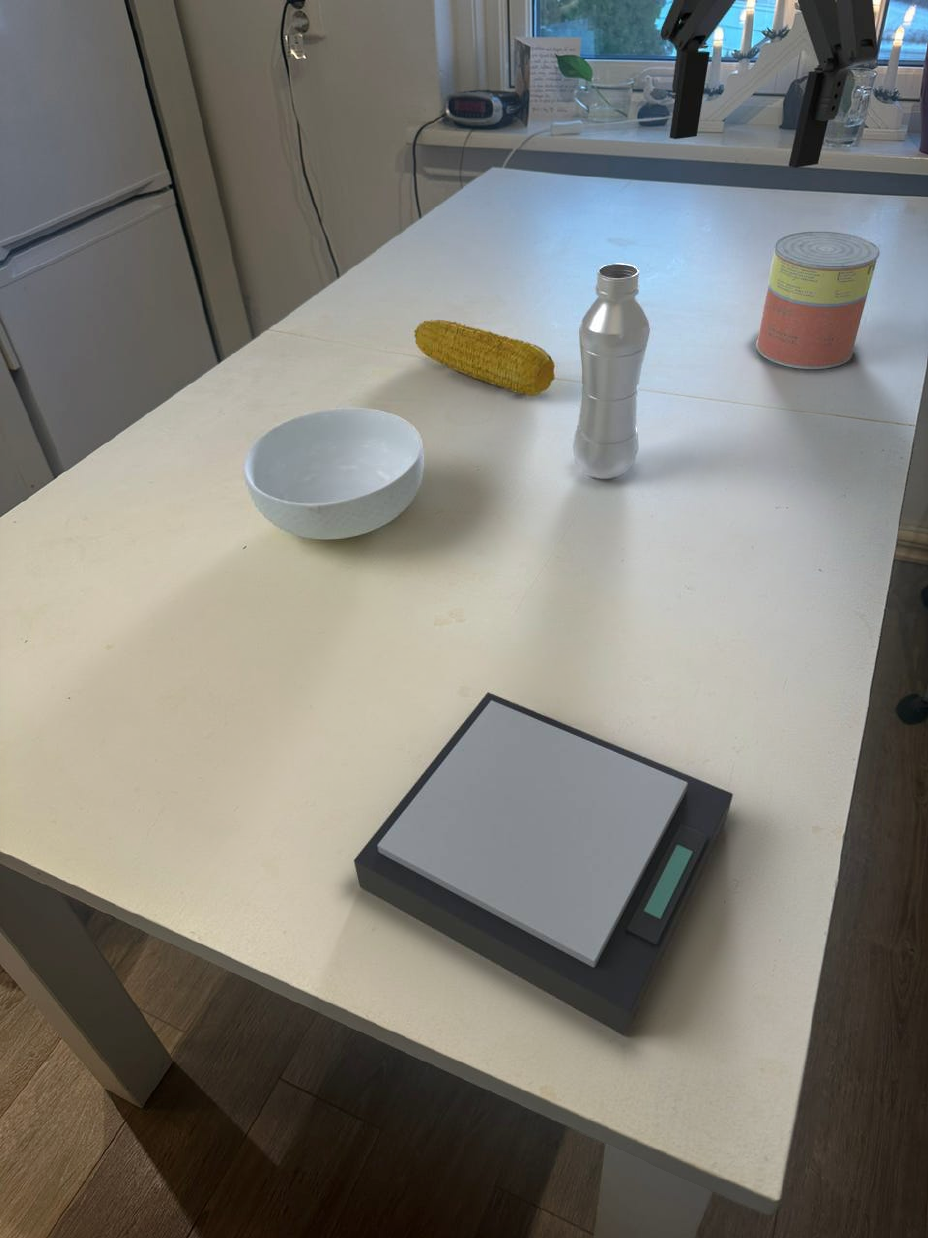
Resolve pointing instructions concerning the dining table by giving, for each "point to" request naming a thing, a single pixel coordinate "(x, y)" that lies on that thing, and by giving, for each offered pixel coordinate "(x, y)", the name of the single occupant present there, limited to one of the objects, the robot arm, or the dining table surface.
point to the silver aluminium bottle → (611, 374)
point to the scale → (549, 855)
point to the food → (487, 356)
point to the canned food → (815, 299)
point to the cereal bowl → (335, 472)
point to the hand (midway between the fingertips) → (739, 150)
